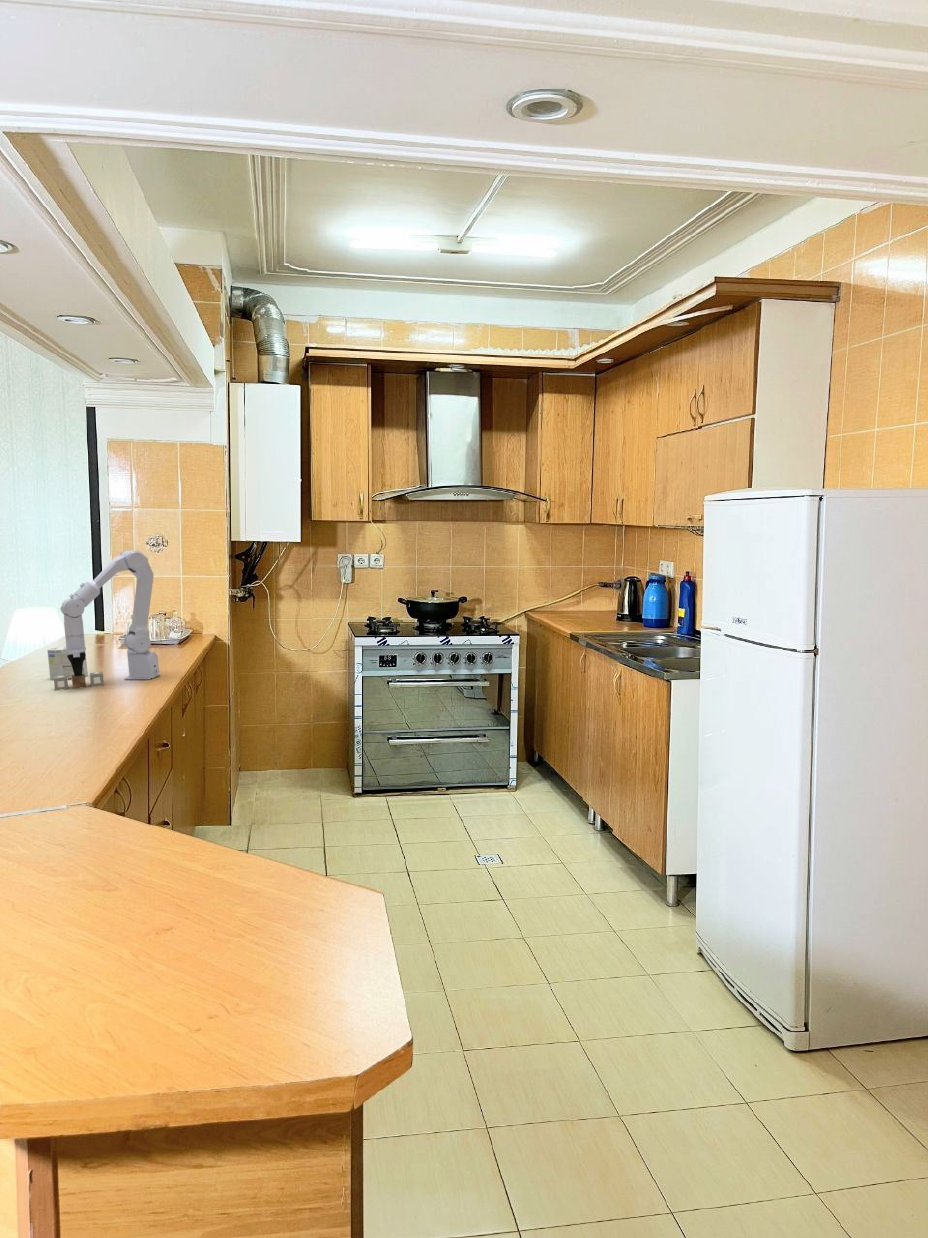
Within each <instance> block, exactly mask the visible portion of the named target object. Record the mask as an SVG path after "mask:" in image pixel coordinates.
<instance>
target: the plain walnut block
mask: <svg viewBox="0 0 928 1238" xmlns="http://www.w3.org/2000/svg"><path fill="white" fill-rule="evenodd" d="M71 681H72V683H71V684H72V689H73V688H74V689H81V688H80V687H83V688H87V683H86V676H85V674H82V675H80V676H75V675H72V679H71Z"/></svg>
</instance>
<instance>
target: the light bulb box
mask: <svg viewBox="0 0 928 1238" xmlns="http://www.w3.org/2000/svg"><path fill="white" fill-rule="evenodd" d="M63 649H66V646H55V647H53V648H48V649H47V660H48V667H49V669H48V670H49V680H51V679H52V680H54V677H56V676H65V675H67V678H71V679H70V680H72V675H74V672H73V668H72V665H71V663H70V661H69V659H68V658H67V655H71V654H73V653H69V652H63ZM81 653H87V652H86V650H85V651H83V652H81ZM82 674H85V677H87V676H89V673H88V663H87V655H86V656H85V659H84V662H83V669H82Z"/></svg>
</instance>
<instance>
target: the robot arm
mask: <svg viewBox="0 0 928 1238" xmlns="http://www.w3.org/2000/svg"><path fill="white" fill-rule="evenodd" d="M124 571H125V572H126V571H130V573H132V575H133V576H134V577H135V578H136V585H135V595H134V602H133V609H132V619H131V624H130V626H128V630H127V631H128V632H127V634H126V635H125V637H124V641H123V642H124V645H125V647H126V648H127V649H128V650H127V664H128V665H127V666H128V676H126V677H125V678H124V680H125V681H126V680H127V681H128V680H130V681H131V680H152V679H155V678H157V677H159V676H161V673H160V667H159V656H158V654H157V653H156V652H153V651H150V648H151V645H152V642H151V638H150V629H149V626H148V623H149V616H150V615H149V614H150V606H151V599H152V593H153V592H152V591H153V583H154V576H155V575H154V572H153V570H152V567H151V565H150V563H149V558H148V557H147V556H146V555H145V554H144V553H143V552H142V551H140V550H131V549H124V550H123V551H121V552H120V553H119V554H118V555H116V556H115V557H114V558H113V559H112V560H111V561H110V562H109V564H107V566H106V567H104V569H102V570H101V572H100V573H99V574H98V575H97V576H96V577H95V578H94V579H92V581H85V582H84V583H83V582H81V584H79V586H80V587H79V588H78V589H77V590H76V591H75V592H74V593H73V594H70V595H69V598H67V599H66V600H65V599H64V600H63V601H62V603H61V606H60V609H59V610H60V611H61V613H62V615H63V625H64V626H63V627H64V636H65V647H66V649H63V652H69V653H73V654H71V655H67V658H68V659H69V661H70V663H71V665H72V668H73V672H74V675H75V676H80V675H82V669H83V662H84V659H85V656H86V657H87V654H86V653H87V652H86V651H87V647H86V644H85V643H86V642H85V631H84V629H85V628H84V620H83V614H84V612H85V608H86V607H88V606H89V605H90V604H91V603H92V602H93V601H94V600H95V599H96V598H97V597H98V596H99V595H100V594H101V588H102V587H103V586H104V585H105V584H107V582H109V580H111V579H112V578H113V577H114V576H115V575H117V574H118V573H121V572H124ZM83 651H85V652H86V653H81V652H83ZM151 678H152V679H151Z"/></svg>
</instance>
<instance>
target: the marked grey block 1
mask: <svg viewBox="0 0 928 1238" xmlns="http://www.w3.org/2000/svg"><path fill="white" fill-rule="evenodd" d="M68 680H69V679H67V675H65V676H56V677H54V679H53V684H54V691H61V690H60V689H64V690H68V689H69V682H68Z"/></svg>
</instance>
